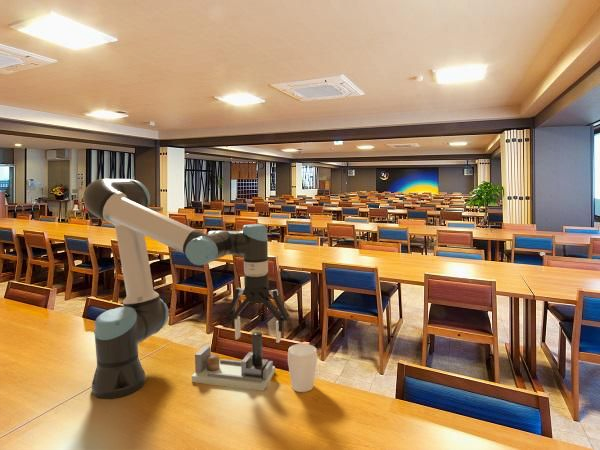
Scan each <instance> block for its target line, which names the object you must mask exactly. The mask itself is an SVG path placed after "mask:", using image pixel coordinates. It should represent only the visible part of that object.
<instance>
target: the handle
mask: <svg viewBox="0 0 600 450" xmlns="http://www.w3.org/2000/svg"><path fill="white" fill-rule="evenodd" d="M240 361H241V376H248V377H256V378H262V377H263V370H264V368H265V367H266V365H267V364H268V362H269V359H266V358H265V359H264V358H263V333H262V332H261V331H255V332H252V333H251V351H249V352H247V354H246V355H245V356H244V358H243V359H242V360H240Z"/></svg>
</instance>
